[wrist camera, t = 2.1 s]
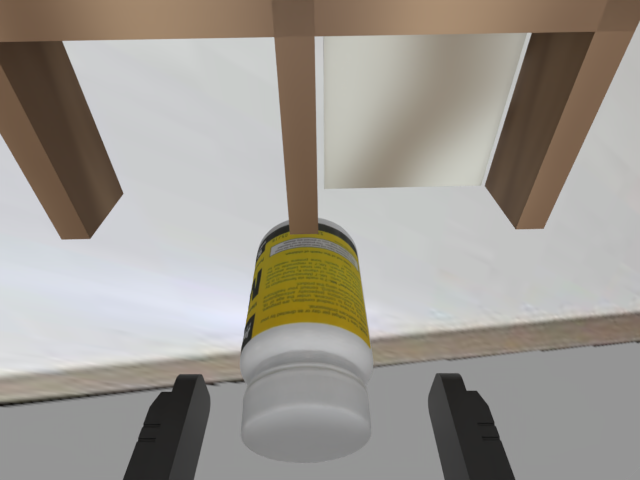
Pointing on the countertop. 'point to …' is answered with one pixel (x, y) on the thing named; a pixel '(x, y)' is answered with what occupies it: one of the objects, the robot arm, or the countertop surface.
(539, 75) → the wooden slotted rack
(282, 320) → the supplement bottle
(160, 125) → the countertop surface
